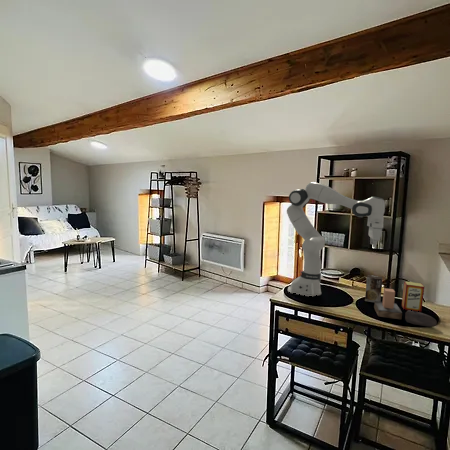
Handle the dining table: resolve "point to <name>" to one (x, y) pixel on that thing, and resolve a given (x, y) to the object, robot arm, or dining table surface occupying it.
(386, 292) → the terracotta block
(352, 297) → the dining table surface
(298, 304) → the dining table surface
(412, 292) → the ginger box
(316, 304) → the dining table surface
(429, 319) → the perforated stone tool
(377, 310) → the block
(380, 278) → the coffee box
